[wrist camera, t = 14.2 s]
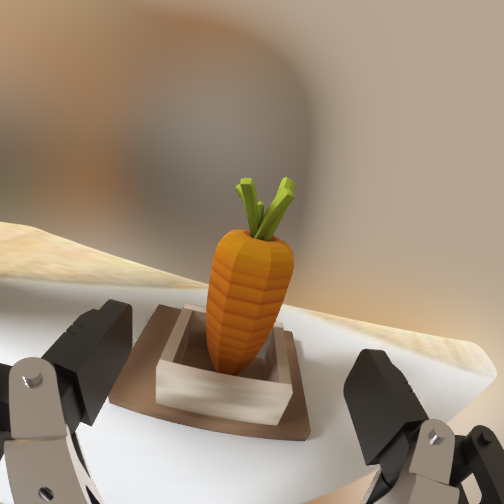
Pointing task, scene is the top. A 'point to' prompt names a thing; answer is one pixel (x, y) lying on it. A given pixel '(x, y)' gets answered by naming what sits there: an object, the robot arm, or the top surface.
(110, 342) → the robot arm
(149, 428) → the top surface
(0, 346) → the top surface
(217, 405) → the socket board
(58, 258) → the top surface
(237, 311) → the carrot
